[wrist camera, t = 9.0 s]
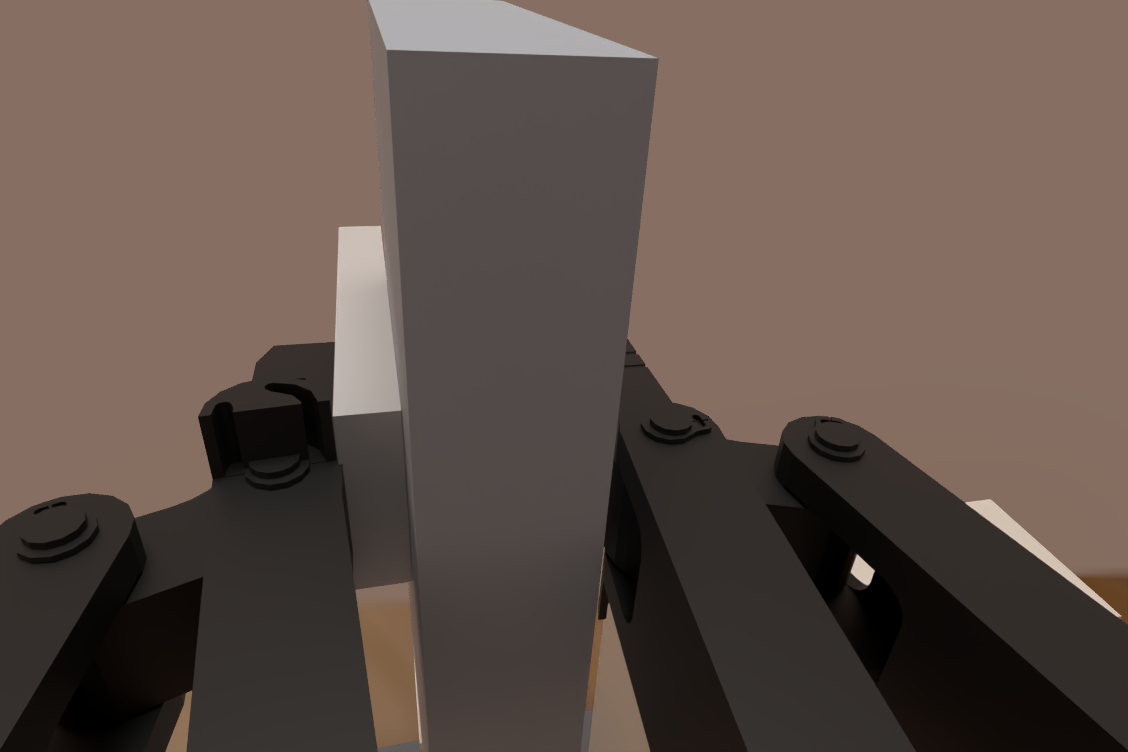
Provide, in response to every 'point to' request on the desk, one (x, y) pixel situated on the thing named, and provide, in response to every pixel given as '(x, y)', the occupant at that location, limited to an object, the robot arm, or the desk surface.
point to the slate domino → (507, 346)
